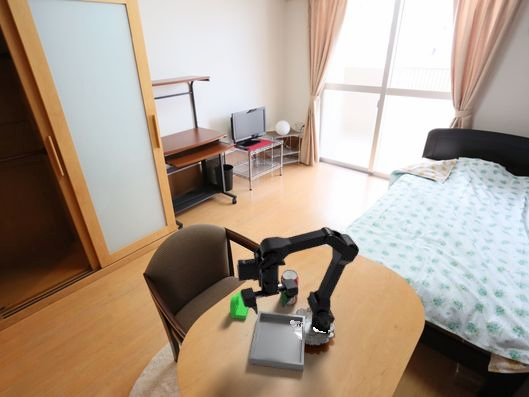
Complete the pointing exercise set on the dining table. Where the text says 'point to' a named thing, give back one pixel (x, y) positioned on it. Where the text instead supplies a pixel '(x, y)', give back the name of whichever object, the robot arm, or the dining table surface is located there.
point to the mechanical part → (238, 307)
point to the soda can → (288, 275)
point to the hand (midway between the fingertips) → (269, 310)
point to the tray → (278, 341)
